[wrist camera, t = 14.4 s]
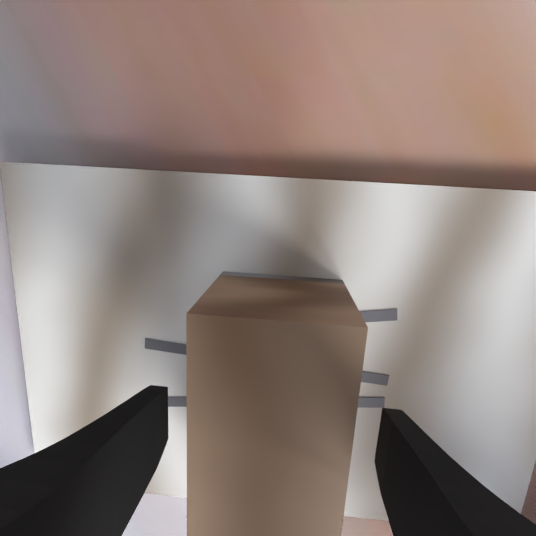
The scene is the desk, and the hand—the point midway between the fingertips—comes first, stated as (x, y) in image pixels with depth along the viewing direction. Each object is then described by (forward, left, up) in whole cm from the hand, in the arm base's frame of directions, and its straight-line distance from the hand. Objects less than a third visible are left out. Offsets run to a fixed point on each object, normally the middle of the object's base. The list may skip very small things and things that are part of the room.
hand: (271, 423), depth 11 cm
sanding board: (0, 0, -5) cm, 5 cm away
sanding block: (0, 0, -4) cm, 4 cm away
